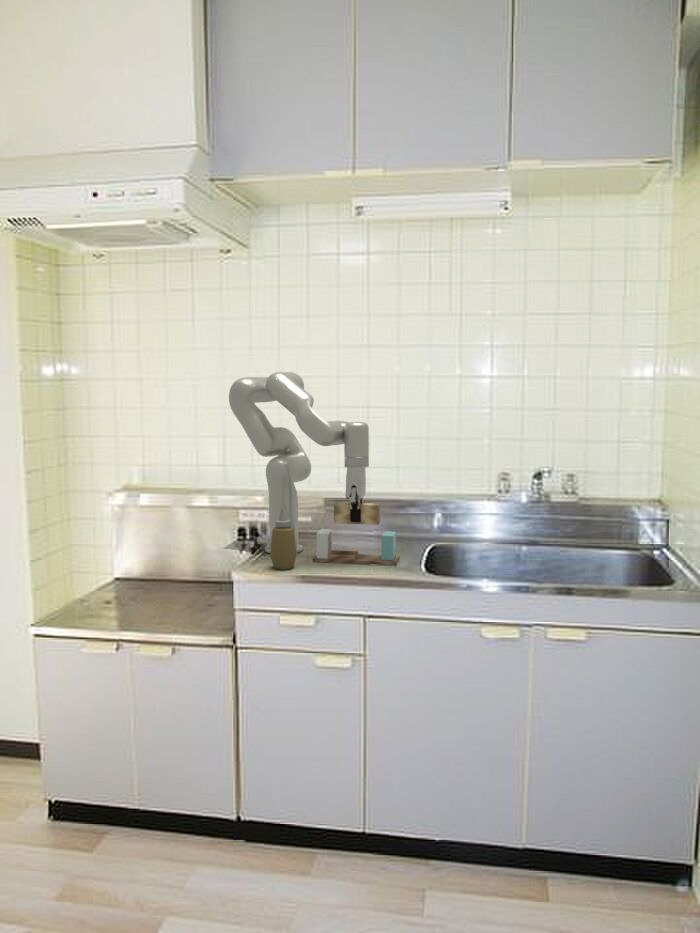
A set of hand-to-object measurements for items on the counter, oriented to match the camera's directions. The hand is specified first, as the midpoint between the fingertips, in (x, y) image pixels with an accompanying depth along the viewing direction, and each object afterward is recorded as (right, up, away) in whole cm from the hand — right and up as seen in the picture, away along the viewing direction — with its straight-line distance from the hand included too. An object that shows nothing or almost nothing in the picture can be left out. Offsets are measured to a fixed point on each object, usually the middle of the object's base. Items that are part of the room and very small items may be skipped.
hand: (356, 519), depth 231 cm
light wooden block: (0, -1, 0) cm, 1 cm away
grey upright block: (-10, -13, +3) cm, 17 cm away
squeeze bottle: (-22, -14, -7) cm, 27 cm away
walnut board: (0, -13, +2) cm, 13 cm away
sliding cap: (+10, -12, 0) cm, 15 cm away
